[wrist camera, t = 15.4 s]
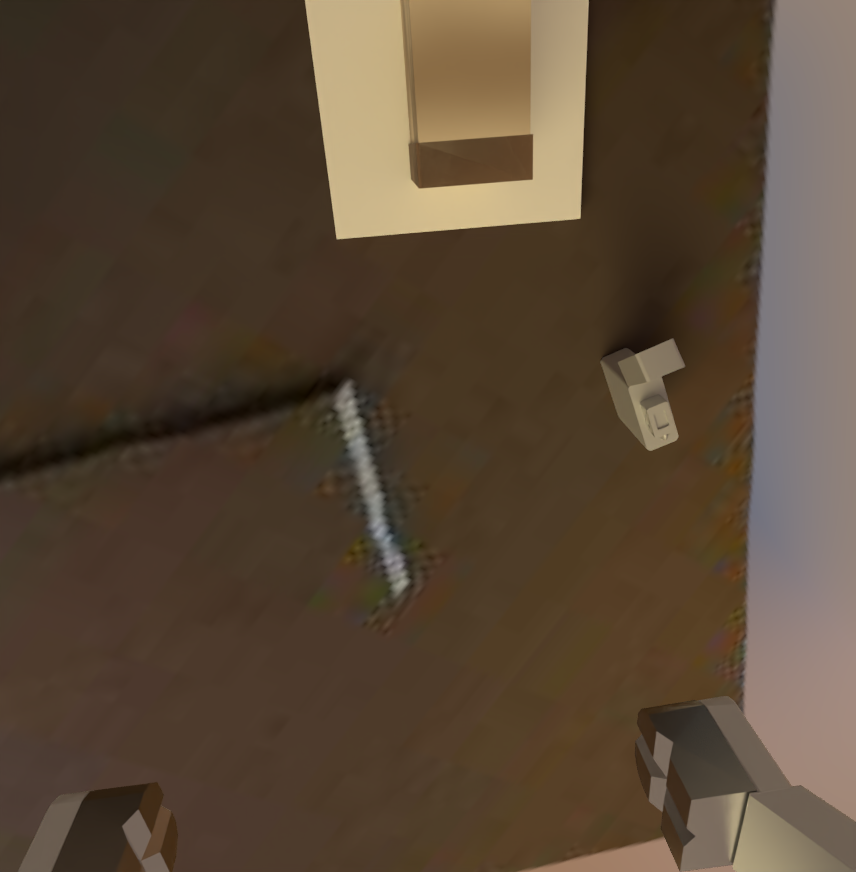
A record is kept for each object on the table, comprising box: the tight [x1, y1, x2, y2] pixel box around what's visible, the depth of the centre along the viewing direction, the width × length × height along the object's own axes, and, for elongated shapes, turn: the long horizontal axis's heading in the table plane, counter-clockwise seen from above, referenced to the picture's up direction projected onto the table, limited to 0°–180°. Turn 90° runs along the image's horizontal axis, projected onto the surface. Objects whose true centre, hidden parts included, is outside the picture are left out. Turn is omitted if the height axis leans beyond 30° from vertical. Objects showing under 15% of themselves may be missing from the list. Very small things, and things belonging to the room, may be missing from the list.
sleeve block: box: [400, 0, 533, 189], centre depth 23 cm, size 7×4×7 cm, turn 4°
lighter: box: [600, 339, 685, 451], centre depth 30 cm, size 7×2×8 cm, turn 24°
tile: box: [305, 0, 589, 239], centre depth 27 cm, size 12×12×1 cm
